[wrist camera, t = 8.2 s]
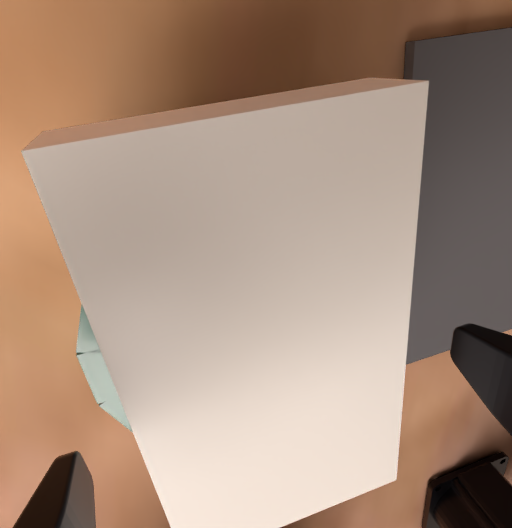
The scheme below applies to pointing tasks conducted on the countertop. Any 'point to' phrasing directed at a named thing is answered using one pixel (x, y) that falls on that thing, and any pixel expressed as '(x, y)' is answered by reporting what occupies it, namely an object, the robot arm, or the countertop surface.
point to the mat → (463, 189)
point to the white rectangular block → (249, 288)
